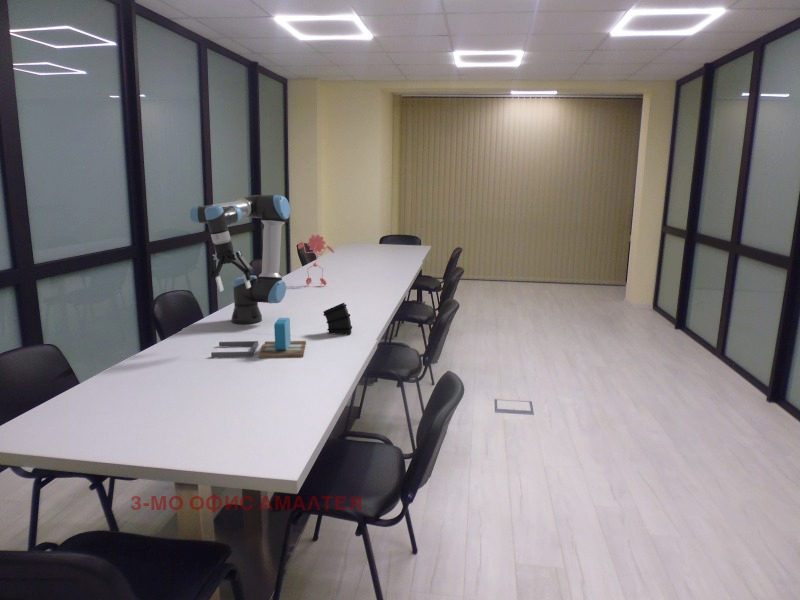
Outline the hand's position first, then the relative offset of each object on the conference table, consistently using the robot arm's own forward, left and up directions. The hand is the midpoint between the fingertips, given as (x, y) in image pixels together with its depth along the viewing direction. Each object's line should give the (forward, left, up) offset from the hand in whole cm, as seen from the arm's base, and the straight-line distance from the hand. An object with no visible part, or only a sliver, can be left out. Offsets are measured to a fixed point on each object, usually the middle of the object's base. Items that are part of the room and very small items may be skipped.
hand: (235, 289), depth 249 cm
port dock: (+11, +21, -25) cm, 34 cm away
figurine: (-139, +29, -25) cm, 144 cm away
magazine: (-15, +44, -25) cm, 53 cm away
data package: (+11, +21, -24) cm, 34 cm away
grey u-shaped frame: (+11, +1, -25) cm, 27 cm away
